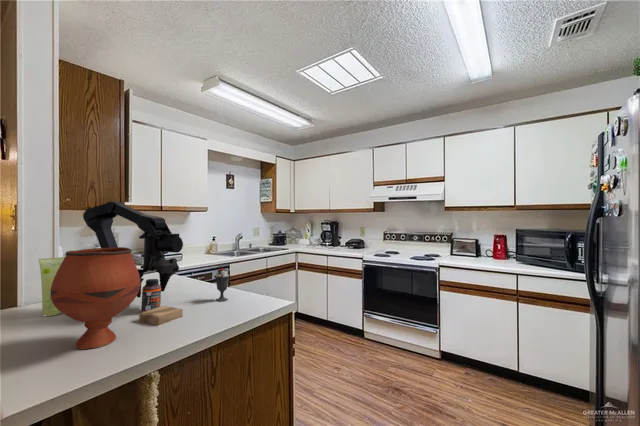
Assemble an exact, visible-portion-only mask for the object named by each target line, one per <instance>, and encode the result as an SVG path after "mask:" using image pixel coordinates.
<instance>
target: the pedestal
mask: <svg viewBox="0 0 640 426" xmlns="http://www.w3.org/2000/svg"><path fill="white" fill-rule="evenodd" d="M183 313H184V312H183V309H182V308H177V307H172V306H169V305H162V306H160V307H158V308H155V309H152V310H149V311H145V312H142V311H141V312H140V313H139V314H138V316H139V317H138V319H139V320H138V321H139V322H142V323H147V324H150V325H154V326H155V325H156V326H161V325H164V324H166V323H169V322H172V321H175V320H177V319H180V318H182V317H183V315H184V314H183Z"/></svg>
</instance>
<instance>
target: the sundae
mask: <svg viewBox="0 0 640 426" xmlns="http://www.w3.org/2000/svg"><path fill="white" fill-rule="evenodd" d="M217 266H218V267H219V268H218V269H217V272H216V273H215V275H214V276H213V277H214V279H215V283H216V289H217V291H219V293H220V296H219V298H216V299H215V301H216V302H217V303H219V302H222V301H223V302H226V301H229V298H227V297H225V296H224V293H225V291H226V290H227V289H228V287H229V281H230V277H231V276H232V275H231V270H228V271H227V269H225V268H223V267H221V266H220V264H217ZM220 268H221V269H220Z"/></svg>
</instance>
